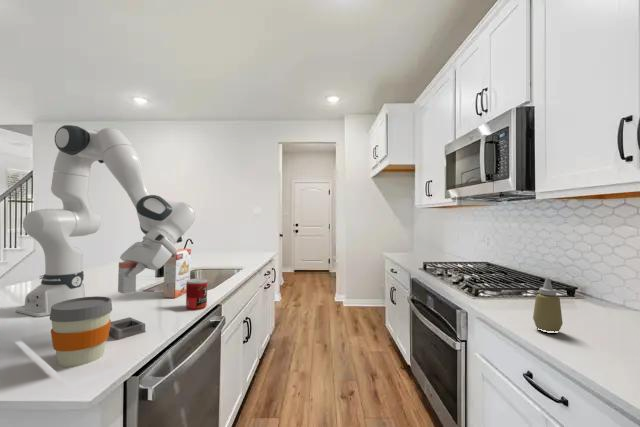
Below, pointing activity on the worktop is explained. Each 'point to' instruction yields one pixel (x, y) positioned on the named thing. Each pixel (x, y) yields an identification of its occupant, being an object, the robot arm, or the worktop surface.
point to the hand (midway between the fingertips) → (125, 276)
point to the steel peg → (123, 281)
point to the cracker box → (177, 273)
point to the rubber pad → (121, 320)
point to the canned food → (196, 294)
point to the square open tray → (126, 329)
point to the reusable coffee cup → (80, 329)
